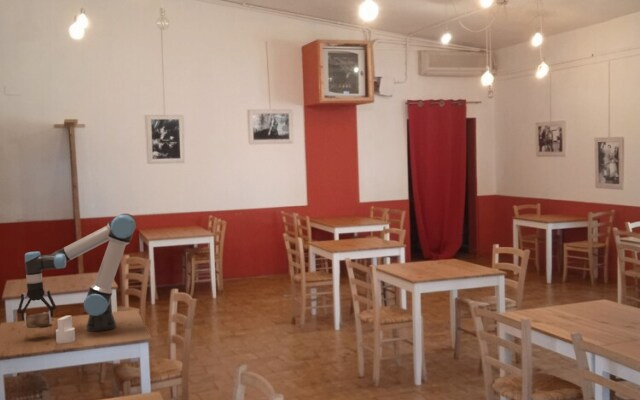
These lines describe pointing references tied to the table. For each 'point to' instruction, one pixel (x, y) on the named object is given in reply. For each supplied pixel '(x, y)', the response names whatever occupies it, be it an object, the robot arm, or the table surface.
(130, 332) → the table surface
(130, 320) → the table surface
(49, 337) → the table surface
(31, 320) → the walnut lid
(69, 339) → the white stepped block
